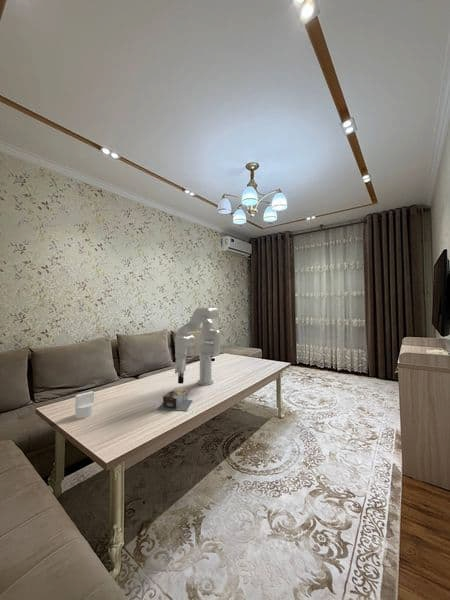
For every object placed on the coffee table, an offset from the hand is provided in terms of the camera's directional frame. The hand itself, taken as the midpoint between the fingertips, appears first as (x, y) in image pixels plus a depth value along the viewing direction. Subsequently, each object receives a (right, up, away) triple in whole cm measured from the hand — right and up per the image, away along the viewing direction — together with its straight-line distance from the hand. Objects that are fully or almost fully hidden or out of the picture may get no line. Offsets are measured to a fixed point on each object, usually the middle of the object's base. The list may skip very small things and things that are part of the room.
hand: (180, 383), depth 162 cm
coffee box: (0, -8, +2) cm, 8 cm away
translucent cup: (-50, -11, -23) cm, 56 cm away
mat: (-2, -11, -8) cm, 14 cm away
